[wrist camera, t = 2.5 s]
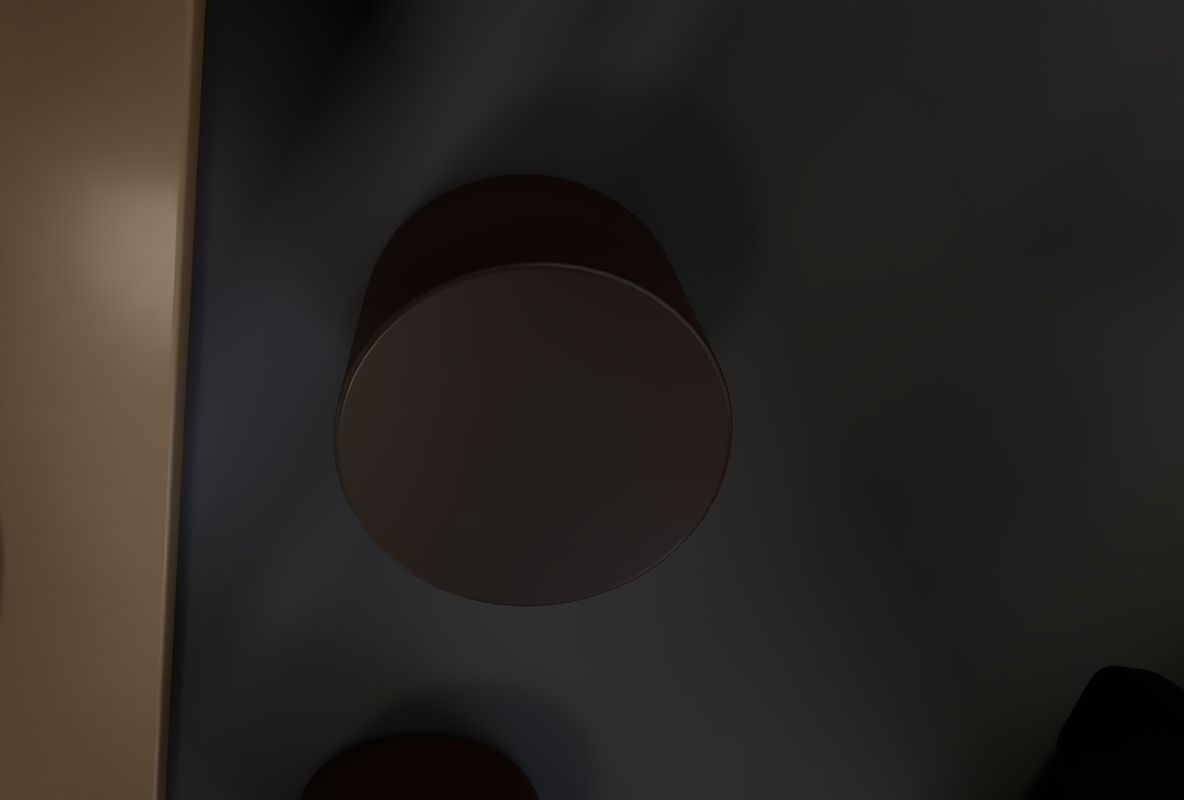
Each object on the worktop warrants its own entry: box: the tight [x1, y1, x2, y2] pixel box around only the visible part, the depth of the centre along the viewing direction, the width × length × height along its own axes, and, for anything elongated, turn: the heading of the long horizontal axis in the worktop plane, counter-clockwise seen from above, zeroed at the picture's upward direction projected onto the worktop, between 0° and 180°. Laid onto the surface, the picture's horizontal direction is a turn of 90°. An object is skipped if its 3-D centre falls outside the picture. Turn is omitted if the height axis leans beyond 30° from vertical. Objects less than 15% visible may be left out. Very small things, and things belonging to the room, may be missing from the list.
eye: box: [334, 175, 733, 606], centre depth 11 cm, size 4×4×3 cm
